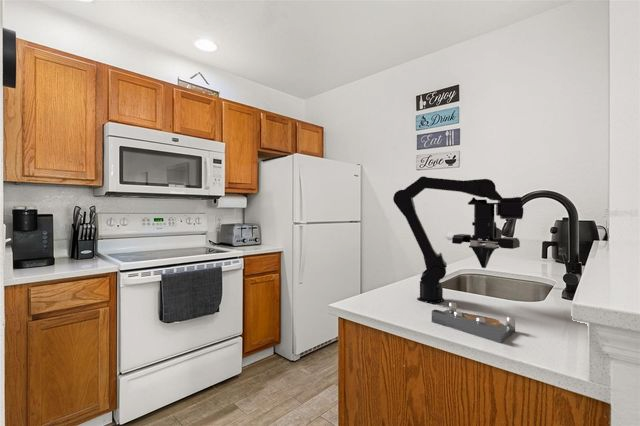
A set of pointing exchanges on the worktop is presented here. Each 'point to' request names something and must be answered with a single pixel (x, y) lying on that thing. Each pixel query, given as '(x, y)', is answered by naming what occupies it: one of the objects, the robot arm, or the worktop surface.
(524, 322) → the worktop surface
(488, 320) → the shard
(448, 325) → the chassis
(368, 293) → the worktop surface
